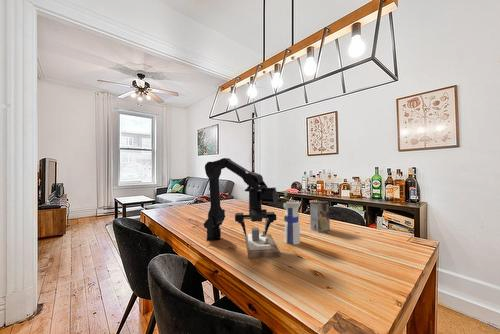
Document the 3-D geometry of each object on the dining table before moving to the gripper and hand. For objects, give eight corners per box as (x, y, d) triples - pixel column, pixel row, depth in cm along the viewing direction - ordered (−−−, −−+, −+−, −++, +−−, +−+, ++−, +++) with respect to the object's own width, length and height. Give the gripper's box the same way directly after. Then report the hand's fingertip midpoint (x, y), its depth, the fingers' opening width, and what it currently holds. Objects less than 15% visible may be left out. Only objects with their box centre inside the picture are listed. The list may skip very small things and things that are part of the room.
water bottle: (280, 243, 103) (280, 191, 103) (286, 237, 111) (286, 189, 110) (297, 246, 99) (297, 192, 99) (302, 240, 107) (302, 190, 107)
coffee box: (321, 227, 128) (321, 200, 128) (330, 230, 123) (329, 202, 122) (310, 229, 124) (309, 201, 124) (318, 232, 118) (318, 203, 118)
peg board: (248, 257, 88) (247, 244, 87) (245, 239, 109) (245, 228, 109) (279, 256, 88) (279, 243, 88) (270, 238, 110) (270, 227, 110)
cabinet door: (249, 250, 91) (249, 234, 90) (247, 237, 106) (247, 224, 106) (270, 249, 91) (270, 234, 91) (265, 236, 107) (265, 223, 107)
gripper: (234, 205, 90) (235, 242, 90) (278, 204, 91) (279, 240, 91) (234, 200, 101) (235, 233, 101) (274, 199, 102) (274, 232, 102)
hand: (255, 235), depth 99 cm, fingers open, 9 cm apart
